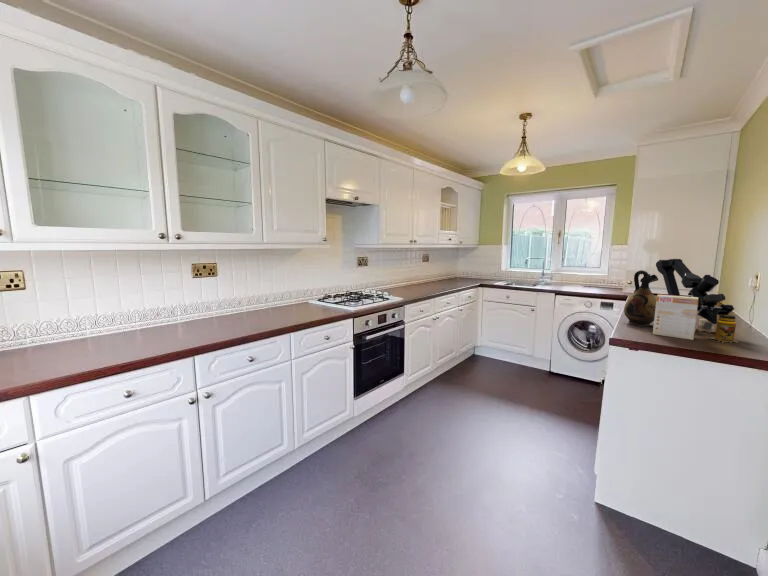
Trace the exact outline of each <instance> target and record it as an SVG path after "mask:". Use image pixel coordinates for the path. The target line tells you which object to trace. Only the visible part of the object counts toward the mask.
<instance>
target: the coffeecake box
mask: <svg viewBox="0 0 768 576" xmlns="http://www.w3.org/2000/svg"><path fill="white" fill-rule="evenodd" d="M655 299H656V308H655V317H654V321H653V326H652V327H653V328H652V335H655V336H657V335H658V336H664V337H671V338H677V339H682V340H692V341H693V340H694V338H695V333H696V331H695V324H696V325H697V323H696V320H697V316H698V315H697V314H698V311H697V307H698V297H693V296H683V295H681V296H673V295H668V294H657V295H656V298H655ZM694 332H695V333H694Z"/></svg>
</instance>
